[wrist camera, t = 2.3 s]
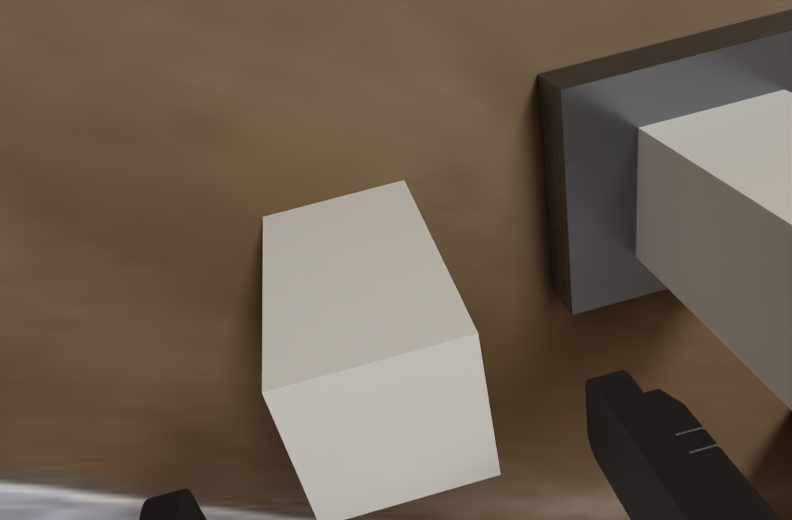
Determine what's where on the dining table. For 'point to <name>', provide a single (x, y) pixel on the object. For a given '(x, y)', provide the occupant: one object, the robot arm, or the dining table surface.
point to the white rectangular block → (725, 225)
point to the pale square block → (370, 356)
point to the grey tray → (635, 142)
